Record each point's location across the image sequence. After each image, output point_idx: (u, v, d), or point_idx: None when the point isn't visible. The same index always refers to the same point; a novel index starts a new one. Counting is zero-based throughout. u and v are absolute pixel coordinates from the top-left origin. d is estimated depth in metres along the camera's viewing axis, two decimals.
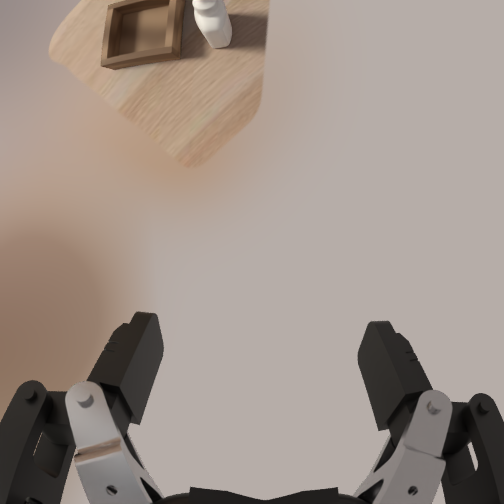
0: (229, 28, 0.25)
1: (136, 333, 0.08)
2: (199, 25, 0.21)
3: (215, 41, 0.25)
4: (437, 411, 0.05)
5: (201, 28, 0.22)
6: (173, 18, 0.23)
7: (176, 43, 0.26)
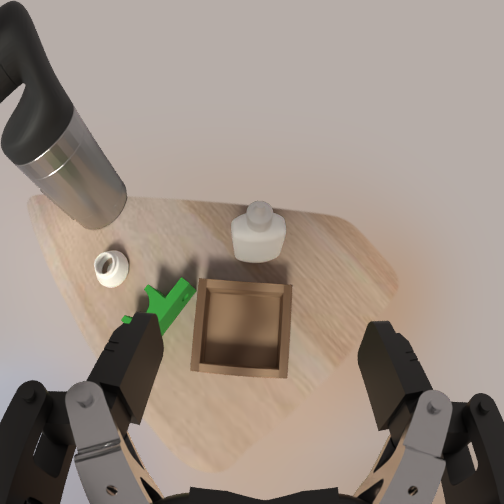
0: None
1: (136, 333, 0.08)
2: (277, 235, 0.28)
3: None
4: (437, 411, 0.05)
5: (281, 234, 0.28)
6: (244, 282, 0.30)
7: None
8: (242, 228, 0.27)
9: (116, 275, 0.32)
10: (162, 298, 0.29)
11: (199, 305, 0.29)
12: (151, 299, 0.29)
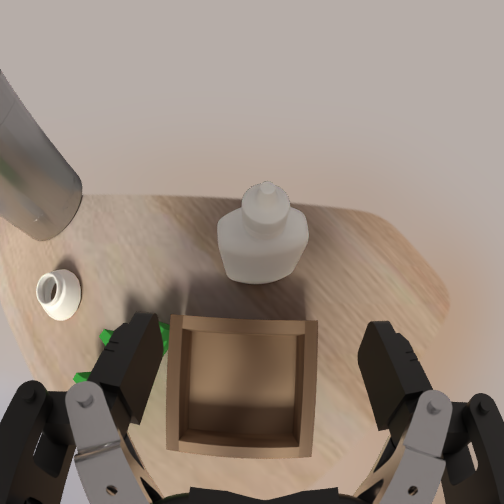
0: None
1: (136, 333, 0.08)
2: (296, 243, 0.16)
3: None
4: (437, 411, 0.05)
5: (302, 240, 0.16)
6: (242, 320, 0.18)
7: None
8: (235, 233, 0.16)
9: (63, 305, 0.20)
10: None
11: (172, 357, 0.17)
12: None
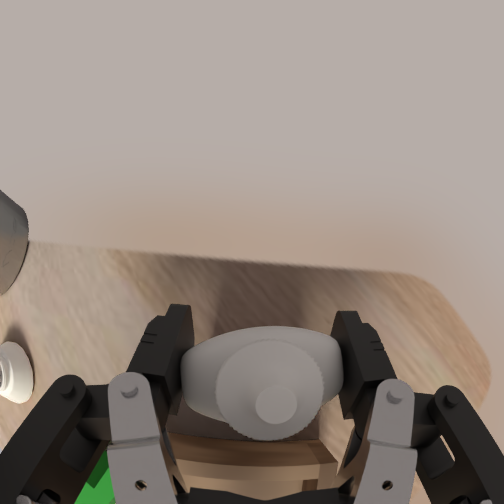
0: None
1: (174, 324, 0.09)
2: (322, 404, 0.08)
3: None
4: (396, 400, 0.06)
5: (333, 396, 0.08)
6: (231, 467, 0.10)
7: (295, 453, 0.12)
8: (211, 397, 0.07)
9: (14, 392, 0.12)
10: (90, 487, 0.09)
11: None
12: None
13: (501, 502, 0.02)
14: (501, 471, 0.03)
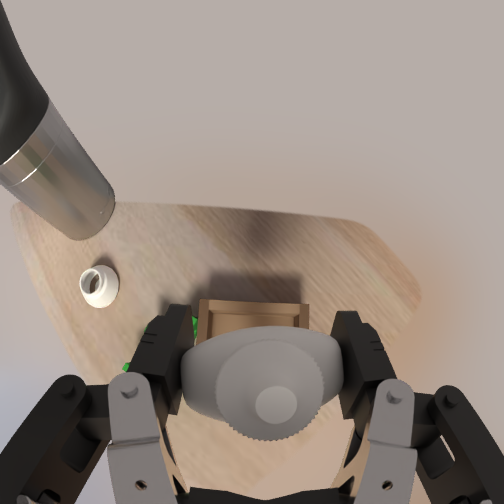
0: None
1: (174, 324, 0.09)
2: (322, 404, 0.08)
3: None
4: (396, 400, 0.06)
5: (333, 396, 0.08)
6: (253, 303, 0.25)
7: None
8: (211, 397, 0.07)
9: (104, 295, 0.27)
10: None
11: (201, 331, 0.24)
12: None
13: (501, 502, 0.02)
14: (500, 471, 0.03)
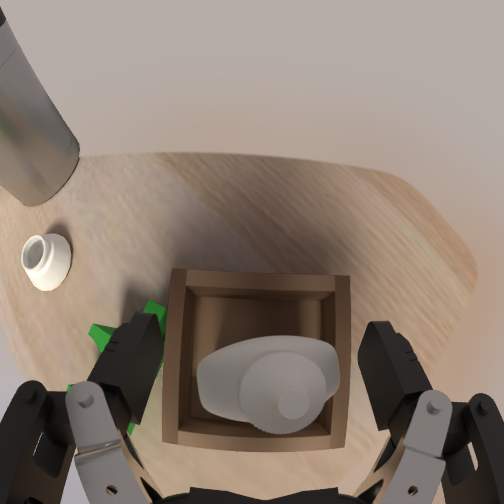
0: None
1: (136, 333, 0.08)
2: None
3: None
4: (437, 411, 0.05)
5: (331, 395, 0.09)
6: (260, 274, 0.15)
7: None
8: (227, 400, 0.09)
9: (50, 271, 0.17)
10: None
11: (172, 321, 0.14)
12: None
13: None
14: None
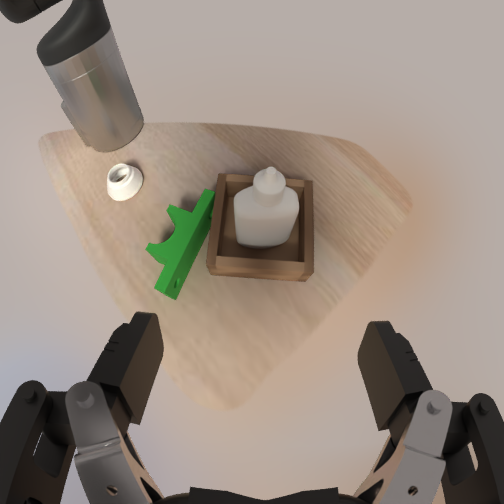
0: None
1: (136, 333, 0.08)
2: (290, 211, 0.23)
3: None
4: (437, 411, 0.05)
5: (294, 209, 0.23)
6: None
7: None
8: (247, 203, 0.22)
9: (129, 185, 0.31)
10: (189, 213, 0.27)
11: (218, 197, 0.28)
12: (177, 217, 0.27)
13: None
14: None
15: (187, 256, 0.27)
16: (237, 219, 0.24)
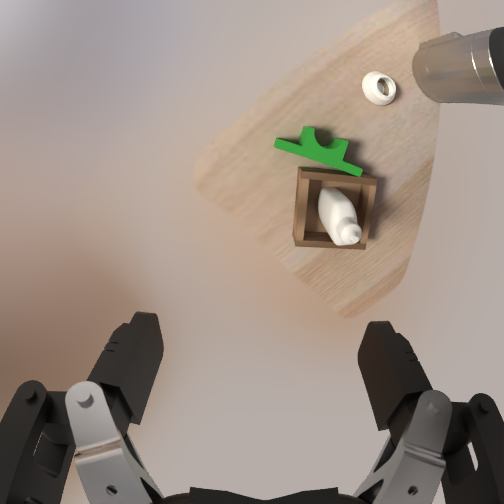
0: None
1: (136, 333, 0.08)
2: (334, 240, 0.32)
3: None
4: (437, 411, 0.05)
5: (335, 242, 0.32)
6: (371, 215, 0.35)
7: None
8: (341, 212, 0.30)
9: (375, 96, 0.30)
10: (341, 158, 0.31)
11: (356, 179, 0.33)
12: (337, 149, 0.31)
13: None
14: None
15: None
16: (332, 201, 0.31)
